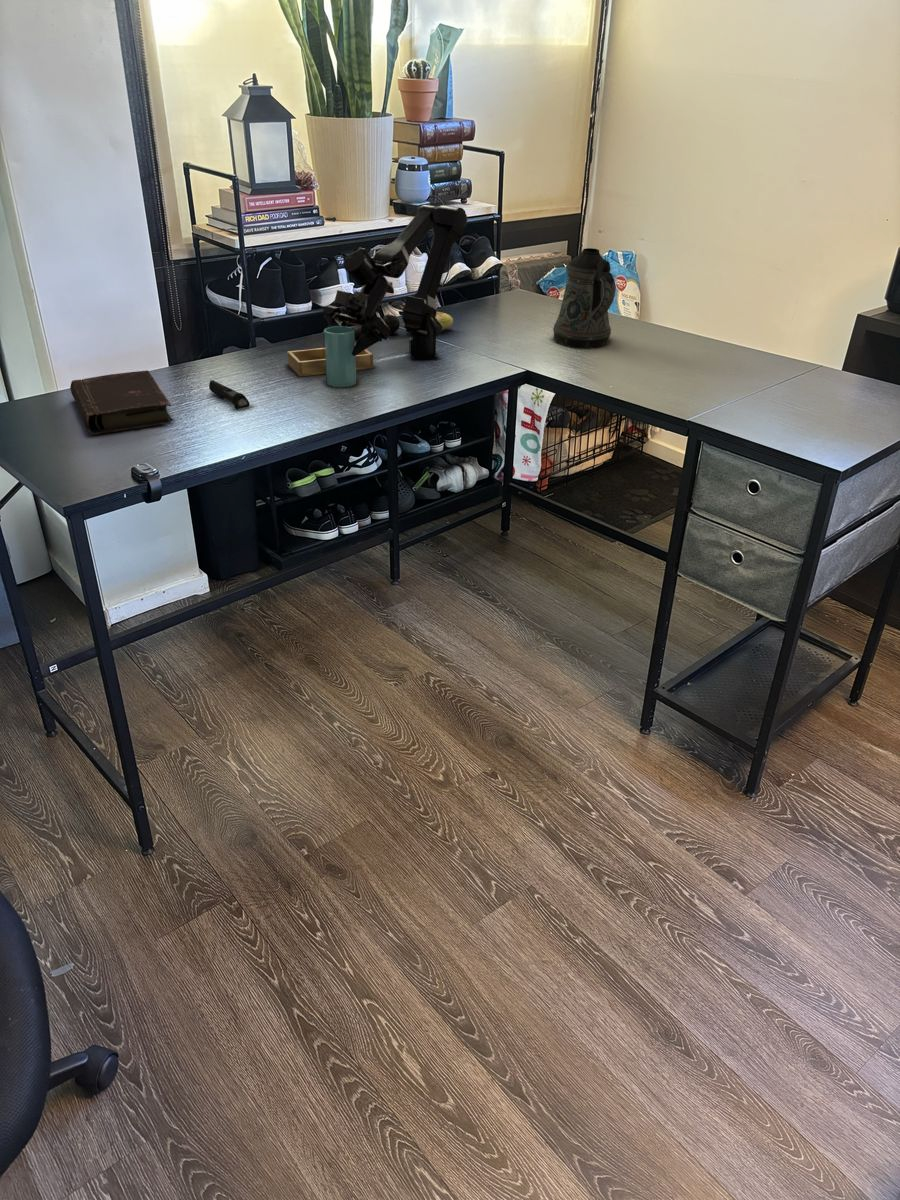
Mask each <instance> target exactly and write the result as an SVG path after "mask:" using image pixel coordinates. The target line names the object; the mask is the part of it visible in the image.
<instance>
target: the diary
mask: <svg viewBox="0 0 900 1200" xmlns="http://www.w3.org/2000/svg"><path fill="white" fill-rule="evenodd" d="M69 389H70V393H71V396H72V397H73V399H74V401H75V404H76V407H77V409H78V412H79V414H80V415H81V417H82V419H83V422H84V425H85V429H86V430H87V431H88V432H89V434H90V435H92V436H94V435H100V434H107V433H108V434H109V433H114V432H115V433H116V432H121V431H127V430H136V429H142V428H148V427H149V428H150V427H155V426H159V425H164V424H169V423H172V422H174V418H172V417H171V415H170V413H168V409H167V407H171V406H172V404H171V402H170V401H169V400H168V397H166V395H165V393H164V391H162V390H161V388H160V387H159V385H158V383H157V382H156V380H155V378H154V377H153V375H152V374H151V373H150V371H149V370H148V369H147V370H138V371H129V372H120V373H111V374H110V373H109V374H104V375H98V376H93V377H92V376H91V377H86V378H82V379H73V380H71V382H70V387H69Z"/></svg>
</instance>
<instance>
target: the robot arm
mask: <svg viewBox="0 0 900 1200" xmlns="http://www.w3.org/2000/svg"><path fill="white" fill-rule="evenodd" d="M467 223H468V215H467V212H466V210H465V209H464V208H463V207H458V206H452V205H445V204H442V205H440V206H436V205H429V204H423V205H421V206H420V207H419V209H418V212H417V213H416V214H415V216H414V217H413V218H412V219H411V220H410V222H409V223H408V224H407V225H406V227H405V228H403V230H402V231H401V233H399V235H398V236H397V238H396V239H394V241H392V242H390V243H388V244H386V245H383V246H382V247H381V248H380V249H379V250H378V251H376V252H375V253H374V255H373V256H371V255H370V254H369V252H368V250H367V249H366V248H363V247H358V249H357V251H354V252H352V253H350V254H349V255H348V256H346V257H345V259H344V261H343V268H344V270H345V271H346V272H347V274H348V275H349V276H350V277H351V279H352V280H353V281H354V282H355V283H356V285H358V286H360V287H361V288H360V290H359V291H357V290H356V291H354V292H353V293H351V292H348V291H344V290H339V289H337V290H336V293H335V297H334V301H333V304H334V305H338V306H334V305H330V304H329V305H325V307H324V308H323V309H322V311H321V314H322V316H323V317H324V319H325V320H326V323H327V328H328V327H332V326H347V327H348V325H352V326H355V327H359V328H361V327H362V329H361V335H360V337H359V338H357V341H356V342H355V344H356V345H355V347H354V349H353V351H352V355H353V356H356V355H358V354H359V353H361V352H362V351H364V350H365V349H367V350H368V348H370V347H372V346H374V345H375V344H377V343H378V342H382V341H387V340H388V338H389V336H391V334H390V328H389V327H388V325H387V324H386V323H385V322H384V321H383V319H384V318H382V317H380V316H377V315H375V314H380V312H381V310H382V309H381V308H380V305H381V304H382V301H383V300H384V298H385V296H386V294H392V295H394V294H395V289H394V285H393V282H392V281H390V280H389V281H388V279H387V278H391V279H399V278H401V277H402V275H403V274H404V272H405V271H406V270H407V268H408V266H409V262H410V256H411V254H412V253H413V252H414V250H416V248H417V247H418V246H419V244H420V243H421V242H422V241H423V239H424V238H425V237H426V236H427V235H428V233H429V232H430V231H431V230H432V233H433V241H432V244H431V247H430V250H429V253H428V256H427V259H426V263H425V266H424V269H423V272H422V274H421V279H420V282H419V284H418V288H417V291H416V292H415V293H414V294H413V296H412V295H407V296H406V299H405V303H404V305H403V308H402V309H401V311H402V315H401V319H402V322H403V324H404V325H405V327H404V328H405V332H406V333H410V337H409V338H408V351H409V355H410V356H411V357H412V359H413V360H432V359H435V360H436V359H438V355H437V337H439V335H442V331H443V330H442V325H441V324H440V323H439V321H438V320H437V319H436V313H437V312H438V308H437V303H436V296H437V293H438V290H439V287H440V284H441V281H442V278H443V275H444V272H445V268H446V265H447V262H448V260H449V256H450V254H451V250H452V248H453V245H454V244H455V243H456V242H457V241H458V240H459V239H460V238H461V237H462V235H463V234H464V231H465V229H466V227H467ZM386 277H387V278H386ZM339 306H342V307H343V308H342V309H343V310H342V309H341V308H340V307H339ZM343 311H344V312H343ZM346 313H347V314H346Z"/></svg>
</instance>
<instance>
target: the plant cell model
mask: <svg viewBox="0 0 900 1200" xmlns="http://www.w3.org/2000/svg"><path fill="white" fill-rule="evenodd" d="M436 319H437V320H438V321H439V323H440V324H441V325H442V331H445V330H447V329H449V328H451V327H452V326H453V324H454V319H453V317H452V316H451V315H450V314H448V313H445V312H441V311H437V313H436ZM403 328H405V325H404V323H403Z"/></svg>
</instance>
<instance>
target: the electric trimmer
mask: <svg viewBox="0 0 900 1200" xmlns="http://www.w3.org/2000/svg"><path fill="white" fill-rule="evenodd" d="M208 384H209V385H208V389H209V390H210V392H212V393H213V395H215V396H216V397H217V398H218V399H221V400H226V401H228V402H229V403H230V404H232V405H233V407H234V409H235V410H245V409H249V408H250V406H251V403H250V401H249V399H248V398H247V397H246V396H245V394H243V393H242V392H238V391H236V390H234V389H232V388H231V387H228V386H226V385H223V384H222V383H220V382H218V381H216V380H213V379H211V380H209V383H208Z"/></svg>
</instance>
